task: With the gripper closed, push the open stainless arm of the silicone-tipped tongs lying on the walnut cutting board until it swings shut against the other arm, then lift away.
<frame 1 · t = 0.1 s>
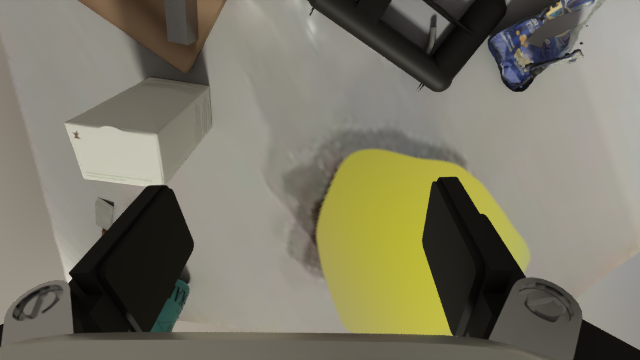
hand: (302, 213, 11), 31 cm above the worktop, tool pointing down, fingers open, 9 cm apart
snack package: (536, 36, 36), on the worktop
beverage bottle: (178, 279, 63), on the worktop
cleaver: (104, 222, 56), on the worktop
skincare box: (183, 101, 42), on the worktop
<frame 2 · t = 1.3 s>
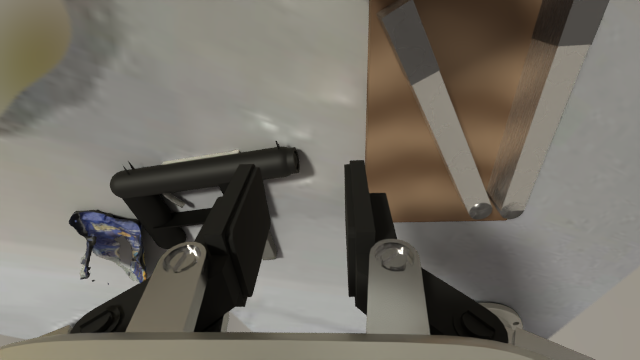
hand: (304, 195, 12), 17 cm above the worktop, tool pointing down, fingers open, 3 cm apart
snack package: (124, 238, 39), on the worktop
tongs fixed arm: (526, 96, 25), resting on cutting board
tongs arm: (442, 125, 25), point 3 cm above the worktop, hinge at 28.0°
cutting board: (450, 105, 27), on the worktop
black submachine gun: (226, 203, 36), on the worktop
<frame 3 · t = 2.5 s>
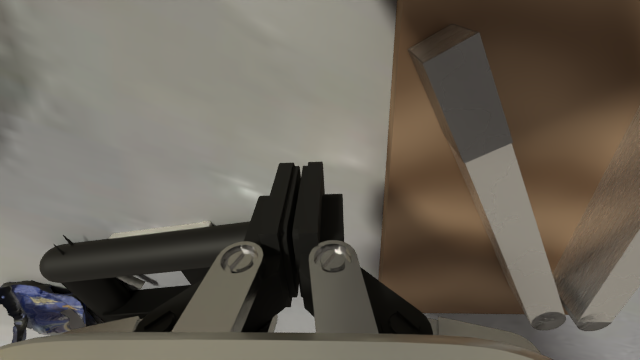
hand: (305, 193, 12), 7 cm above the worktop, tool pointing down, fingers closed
snack package: (74, 310, 31), on the worktop
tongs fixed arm: (626, 167, 17), resting on cutting board
tongs arm: (501, 210, 17), point 3 cm above the worktop, hinge at 28.0°
cutting board: (506, 171, 19), on the worktop
black submachine gun: (199, 279, 27), on the worktop
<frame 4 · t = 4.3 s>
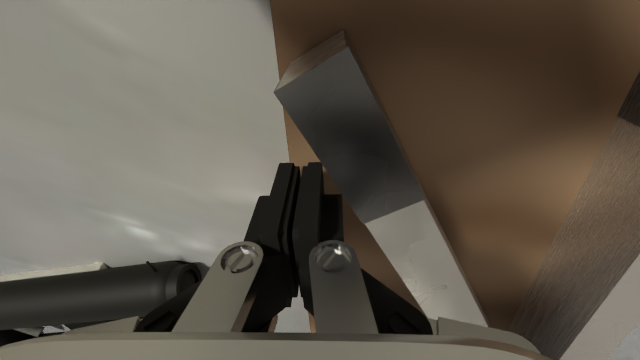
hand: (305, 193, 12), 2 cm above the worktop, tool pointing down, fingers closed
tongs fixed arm: (591, 212, 13), resting on cutting board
tongs arm: (433, 267, 13), point 3 cm above the worktop, hinge at 27.8°, touching gripper
cutting board: (448, 210, 15), on the worktop
black submachine gun: (113, 320, 24), on the worktop
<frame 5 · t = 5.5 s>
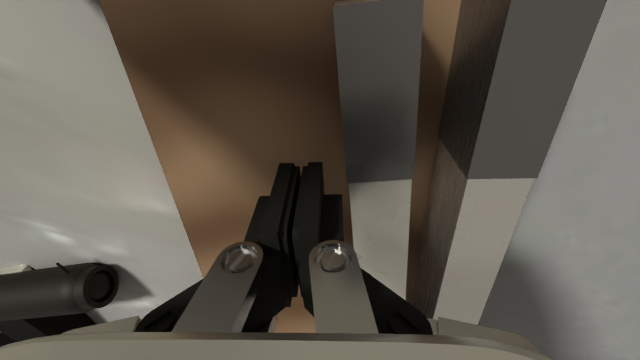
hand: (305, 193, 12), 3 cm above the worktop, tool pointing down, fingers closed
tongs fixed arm: (445, 222, 15), resting on cutting board
tongs arm: (377, 256, 14), point 3 cm above the worktop, hinge at 3.8°, touching gripper
cutting board: (331, 219, 17), on the worktop
black submachine gun: (51, 321, 25), on the worktop
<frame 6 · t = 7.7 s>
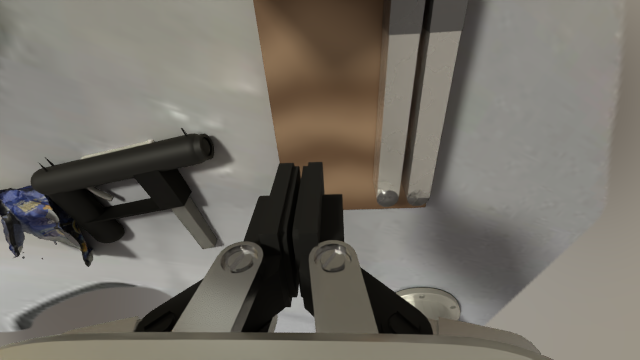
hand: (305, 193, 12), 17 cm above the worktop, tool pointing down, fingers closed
snack package: (57, 213, 38), on the worktop
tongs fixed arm: (423, 84, 25), resting on cutting board
tongs arm: (393, 99, 24), point 3 cm above the worktop, hinge at -0.6°
cutting board: (355, 92, 27), on the worktop
black submachine gun: (157, 194, 36), on the worktop
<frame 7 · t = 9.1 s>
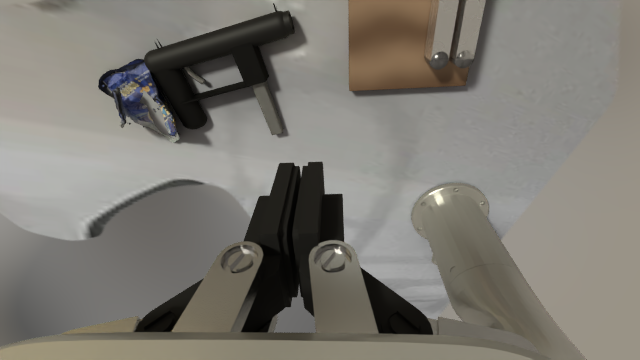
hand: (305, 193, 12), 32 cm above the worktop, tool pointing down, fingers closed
snack package: (149, 99, 44), on the worktop
black submachine gun: (238, 82, 43), on the worktop
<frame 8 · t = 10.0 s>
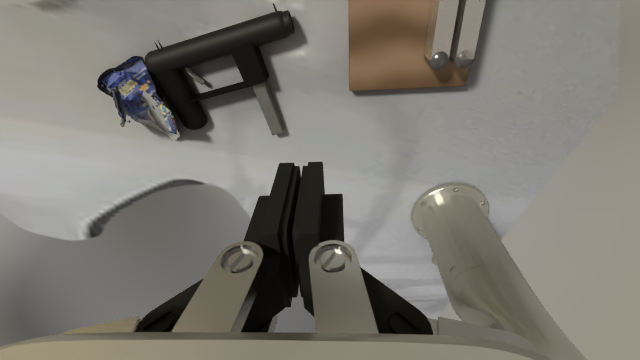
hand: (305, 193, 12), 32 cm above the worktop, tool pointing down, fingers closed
snack package: (149, 97, 44), on the worktop
black submachine gun: (238, 82, 43), on the worktop
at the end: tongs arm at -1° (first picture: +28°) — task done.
